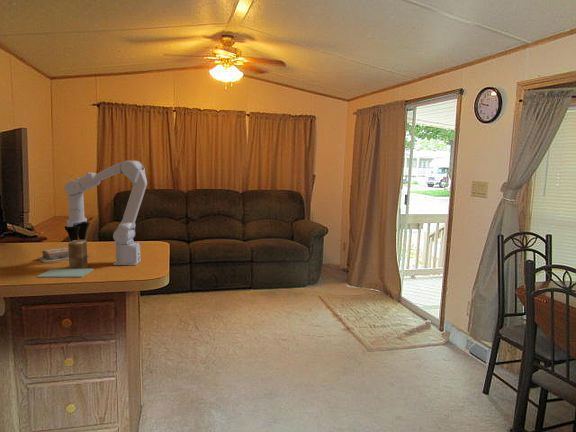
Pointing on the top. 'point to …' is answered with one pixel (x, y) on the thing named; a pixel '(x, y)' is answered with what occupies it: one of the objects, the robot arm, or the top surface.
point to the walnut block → (78, 254)
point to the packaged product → (55, 255)
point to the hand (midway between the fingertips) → (78, 241)
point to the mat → (65, 273)
